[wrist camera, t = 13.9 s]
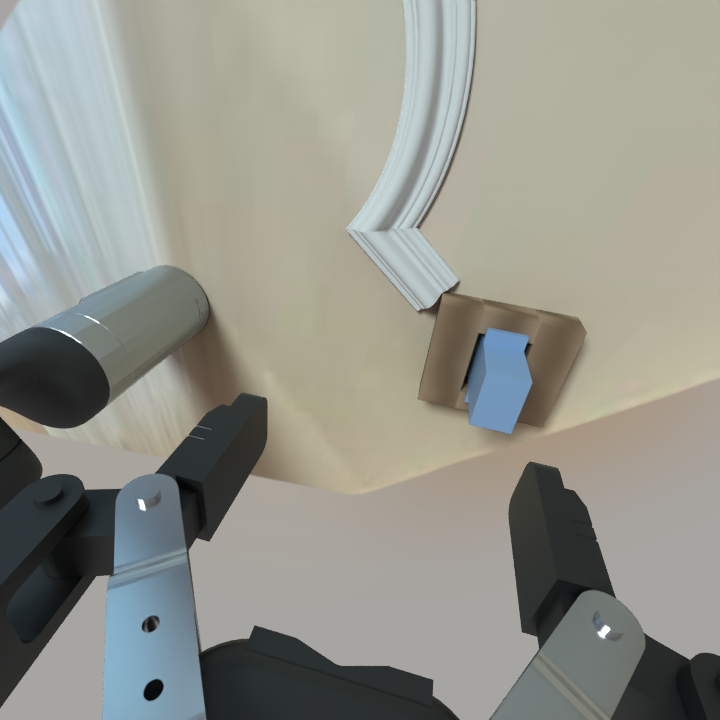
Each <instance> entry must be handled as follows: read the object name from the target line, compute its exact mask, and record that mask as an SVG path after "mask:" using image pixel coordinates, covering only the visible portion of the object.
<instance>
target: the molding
mask: <svg viewBox="0 0 720 720" xmlns="http://www.w3.org/2000/svg"><path fill="white" fill-rule="evenodd" d="M403 8H404V16H405V29H406V73H405V86H404V94H403V101H402V108H401V113H400V118H399V123H398V127H397V131H396V135H395V139H394V142H393V145H392V149H391V151H390V154H389V157H388V160H387V162H386V165H385V167H384V170H383V172H382V174H381V176H380V178H379V180H378V182H377V185H376V186H375V188H374V190H373V192H372V194H371V195H370V197H369V199H368V200H367V202H366V203H365V205H364V206H363V208H362V209H361V211H360V212H359V213H358V214H357V216H356V217H355V218H354V220H353V221H352V222H351V223H350V224H349V225H348V226H347V228H346V230H347V231H348V232H349V234H350V235H351V236H352V237H353V238H354V239H355V240H356V242H357V243H358V244H359V245H360V246H361V247H362V248H363V250H364V251H365V252H366V253H367V254H368V255H369V256H370V258H371V259H372V260H373V261H374V262H375V263H376V264H377V266H378V267H379V268H380V269H381V270H382V271H383V272H384V274H385V275H386V276H387V277H388V278H389V279H390V281H391V282H392V283H393V284H394V285H395V286H396V287H397V289H398V290H399V291H400V292H401V293H402V294H403V295H404V297H405V298H406V299H407V300H408V301H409V302H410V303H411V305H412V306H413V307H414V308H415V309H416V310H417V311H419V310H420V309H424V308H425V309H427V308H429V307H431V306H432V305H433V304H434V303H435V302H436V301H437V300H438V298H439V296H440V295H441V294H442V293H443V292H445V291H447V290H448V289H449V288H451V287H453V286H454V285H455V284H456V283H457V282H458V281H459V278H458V276H457V275H456V274H455V273H454V272H453V270H452V269H451V268H450V267H449V265H448V264H447V263H446V262H445V261H444V259H443V258H442V257H441V256H440V254H439V253H438V252H437V251H436V250H435V248H434V247H433V246H432V245H431V243H430V242H429V241H428V240H427V239H426V237H425V236H424V235H423V234H422V232H421V231H420V230H419V229H418V228H417V226H418V224H419V223H420V221H421V220H422V218H423V217H424V215H425V213H426V212H427V210H428V208H429V206H430V205H431V203H432V201H433V199H434V197H435V195H436V193H437V191H438V189H439V187H440V185H441V183H442V181H443V178H444V176H445V174H446V171H447V169H448V166H449V164H450V161H451V159H452V156H453V153H454V150H455V147H456V144H457V141H458V137H459V134H460V130H461V127H462V123H463V119H464V115H465V110H466V106H467V101H468V96H469V89H470V83H471V76H472V68H473V59H474V47H475V26H476V0H403Z"/></svg>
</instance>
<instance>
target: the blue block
mask: <svg viewBox="0 0 720 720" xmlns="http://www.w3.org/2000/svg"><path fill="white" fill-rule="evenodd" d="M528 340H529V336H528V335H524V334H519V333H514V332H509V331H504V330H499V329H494V328H489V327H487V330H486V333H485V334H482V333H479V336H478V339H477V342H476V346H475V349H474V352H473V355H472V359H471V362H470V365H469V368H468V390H467V393H466V396H465V402H467V403H468V405H469V425H473V426H478V427H482V428H487V429H491V430H495V431H500V432H504V433H508V434H511V433H512V431H513V428H514V426H515V424H516V421H517V419H518V416H519V414H520V412H521V409H522V407H523V404H524V402H525V400H526V397H527V395H528V392H529V390H530V388H531V385H532V379H531V375H530V372H529V368H528V364H527V360H526V357H525V353H524V350H525V347H526V345H527V342H528Z"/></svg>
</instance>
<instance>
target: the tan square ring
mask: <svg viewBox="0 0 720 720" xmlns="http://www.w3.org/2000/svg"><path fill="white" fill-rule="evenodd" d="M487 327H489V328H494V329H499V330H504V331H509V332H514V333H519V334H524V335H528V336H529V340H528V342H527V345H526V347H525V350H524V353H525V357H526V360H527V364H528V368H529V372H530V375H531V379H532V385H531V388H530V390H529V392H528V395H527V397H526V400H525V402H524V404H523V407H522V409H521V412H520V414H519V416H518V419H517V421H516V422H520V423H525V424H529V425H533V426H538V427H543V425H544V423H545V421H546V419H547V417H548V414H549V412H550V410H551V408H552V406H553V404H554V402H555V400H556V397H557V395H558V393H559V391H560V389H561V387H562V385H563V382H564V380H565V378H566V376H567V374H568V372H569V370H570V368H571V365H572V363H573V361H574V359H575V357H576V355H577V353H578V351H579V348H580V346H581V344H582V342H583V340H584V338H585V336H586V333H587V332H586V330H585V328H584V327H583V325H582V323H581V322H580V320H579V318H577V317H572V316H567V315H562V314H557V313H552V312H547V311H542V310H536V309H531V308H526V307H521V306H516V305H511V304H506V303H501V302H495V301H490V300H485V299H480V298H475V297H470V296H465V295H460V294H454V293H449V292H443V293H442V297H441V301H440V305H439V309H438V313H437V317H436V321H435V325H434V329H433V334H432V338H431V342H430V346H429V350H428V354H427V358H426V362H425V366H424V370H423V374H422V378H421V382H420V389H419V395H418V399H419V400H423V401H428V402H432V403H437V404H441V405H445V406H450V407H454V408H459V409H463V410H467V411H469V405H468V403H467V402H465V396H466V393H467V390H468V376H465V375H466V371H467V368H468V365H469V362H470V359H471V355H472V352H473V349H474V346H475V343H476V339H477V336H478V333H482V334H485V333H486V330H487Z"/></svg>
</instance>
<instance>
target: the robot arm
mask: <svg viewBox="0 0 720 720" xmlns="http://www.w3.org/2000/svg"><path fill="white" fill-rule="evenodd" d="M208 317H209V307H208V301H207V299H206V296H205V294H204V292H203V290H202V289H201V287H200V286H199V285H198V283H197V282H196V281H195V280H194V279H193V278H192V277H190V276H189V275H188V274H186V273H185V272H183V271H182V270H179V269H177V268H174V267H170V266H158V267H155V268H152V269H150V270H148V271H146V272H137V273H135V274H133V275H131V276H129V277H127V278H125V279H122V280H120V281H118V282H116V283H114V284H112V285H110V286H108V287H106V288H103V289H101V290H99V291H97V292H95V293H93V294H91V295H89V296H87V297H84V298H82V299H81V300H80V302H79V304H78V305H76V306H74V307H72V308H70V309H68V310H65V311H63V312H61V313H59V314H57V315H55V316H53V317H51V318H49V319H47V320H45V321H43V322H41V323H39V324H37V325H35V326H33V327H31V328H29V329H26V330H24V331H22V332H20V333H18V334H16V335H14V336H12V337H10V338H8V339H7V340H5V341H3V342H1V343H0V406H2V407H5V408H7V409H10V410H12V411H14V412H16V413H18V414H20V415H22V416H24V417H26V418H28V419H30V420H32V421H35V422H37V423H40V424H42V425H46V426H49V427H54V428H73V427H77V426H79V425H82V424H84V423H86V422H87V421H89V420H90V419H91V418H93V417H94V416H95V415H96V414H98V413H99V412H100V411H101V410H102V409H104V408H105V407H106V406H107V405H109V404H110V403H111V402H112V401H114V400H115V399H116V398H117V397H119V396H120V395H121V394H122V393H123V392H125V391H126V390H127V389H128V388H129V387H131V386H132V385H133V384H134V383H136V382H137V381H138V380H139V379H141V378H142V377H143V376H144V375H146V374H147V373H148V372H149V371H151V370H152V369H153V368H154V367H155V366H157V365H158V364H159V363H160V362H162V361H163V360H164V359H165V358H167V357H168V356H169V355H170V354H172V353H173V352H174V351H175V350H177V349H178V348H179V347H180V346H181V345H183V344H184V343H185V342H187V341H188V340H189V339H190V338H191V337H193V336H194V335H195V334H196V333H198V332H199V331H200V330H201V329H202V328H203V327H204V326H205V324H206V323H207V320H208ZM266 440H267V399H266V398H264V397H260V396H256V395H252V394H247V393H241V394H240V395H239V396H238V398H237V399H236V400H235V401H234V402H233V404H232V405H231V406H226V405H220V406H219V407H217V408H215V409H213V410H212V411H210V412H208V413H207V414H206V415H205V416H204V417H203V419H202V420H201V421H200V422H199V423H198V424H197V427H195V428H194V429H193V430H192V431H191V432H190V434H189V436H188V437H186V438H185V439H184V441H183V442H182V443H181V444H180V445H179V446H178V447H177V449H176V450H175V451H174V452H173V453H172V454H171V456H170V457H169V458H168V459H167V460H166V461H165V463H164V464H163V465H162V466H161V467H160V468H159V470H158V471H157V472H156V473H155V474H148V475H144V476H141V477H138V478H136V479H134V480H132V481H131V482H129V483H128V484H127V485H125V486H124V487H123V488H122V489H102V490H101V489H100V490H98V489H97V490H85V489H84V485H83V483H82V481H81V480H80V479H79V478H78V477H76V476H73V475H68V474H58V475H52V476H48V477H45V478H42V479H40V478H41V476H42V465H41V463H40V461H39V459H38V458H37V457H36V455H35V454H34V453H33V451H32V450H31V449H30V448H29V447H28V446H27V445H26V444H25V443H24V442H23V441H22V439H20V437H19V436H18V435H17V434H16V433H15V432H14V431H13V430H12V429H11V428H10V427H9V425H8V424H7V423H6V422H5V421H4V420H3V419H2V418H1V417H0V708H1V706H2V705H3V704H4V702H5V701H6V699H7V698H8V696H9V695H10V694H11V693H12V691H13V690H14V688H15V687H16V686H17V684H18V683H19V682H20V680H21V679H22V677H23V676H24V675H25V673H26V672H27V671H28V669H29V668H30V666H31V665H32V664H33V662H34V661H35V659H36V658H37V657H38V656H39V654H40V653H41V651H42V650H43V648H44V647H45V646H46V644H47V643H48V642H49V640H50V639H51V638H52V636H53V635H54V633H55V632H56V631H57V629H58V628H59V626H60V625H61V624H62V623H63V621H64V620H65V618H66V617H67V616H68V614H69V613H70V612H71V610H72V609H73V607H74V606H75V605H76V603H77V602H78V601H79V599H80V598H81V596H82V595H83V594H84V592H85V591H86V590H87V588H88V587H89V585H90V584H91V583H92V581H93V580H94V579H95V577H96V576H104V575H110V576H109V579H108V584H107V605H106V633H105V658H104V685H103V712H102V720H460V719H459V718H458V717H457V716H456V715H455V714H454V713H453V712H452V711H451V710H450V709H449V708H448V707H447V706H445V705H444V704H443V703H442V702H441V701H440V700H438V699H437V698H435V697H434V696H432V694H433V680H432V679H428V678H425V677H422V676H418V675H415V674H412V673H409V672H405V671H402V670H399V669H395V668H392V667H389V666H339V665H336V664H334V663H333V662H332V661H330V660H329V659H327V658H325V657H324V656H322V655H321V654H319V653H318V652H316V651H315V650H313V649H312V648H311V647H309V646H308V645H306V644H305V643H303V642H302V641H300V640H299V639H297V638H294V637H291V636H288V635H284V634H281V633H278V632H275V631H271V630H268V629H265V628H262V627H258V626H254V628H253V631H252V633H251V636H250V638H249V639H239V640H232V641H228V642H224V643H221V644H218V645H216V646H214V647H211V648H209V649H207V650H205V651H203V652H202V649H201V642H200V634H199V627H198V620H197V613H196V606H195V598H194V590H193V582H192V574H191V567H190V559H189V551H188V550H189V549H190V547H191V546H192V544H193V543H194V541H195V539H196V538H199V539H202V540H206V541H210V539H211V538H212V536H213V535H214V533H215V531H216V530H217V528H218V526H219V524H220V523H221V521H222V519H223V518H224V516H225V514H226V513H227V511H228V509H229V508H230V506H231V504H232V503H233V501H234V499H235V497H236V496H237V494H238V493H239V491H240V489H241V488H242V486H243V484H244V482H245V481H246V479H247V478H248V476H249V474H250V473H251V471H252V469H253V468H254V466H255V464H256V463H257V461H258V459H259V458H260V456H261V454H262V452H263V450H264V447H265V444H266ZM509 525H510V534H511V542H512V551H513V559H514V568H515V576H516V585H517V594H518V602H519V611H520V619H521V628H522V632H523V633H527V634H530V635H534V636H537V637H538V643H539V651H538V652H537V653H536V655H535V656H534V657H533V659H532V660H531V662H530V663H529V664H528V666H527V667H526V669H525V670H524V672H523V673H522V675H521V676H520V677H519V678H518V680H517V681H516V683H515V684H514V686H513V687H512V688H511V690H510V691H509V692H508V694H507V695H506V697H505V698H504V699H503V701H502V702H501V704H500V705H499V707H498V708H497V709H496V711H495V712H494V713H493V715H492V716H491V718H490V719H489V720H720V656H718V655H715V654H711V653H700V654H698V655H696V656H695V657H693V658H692V659H691V660H689V659H687V658H686V657H684V656H682V655H680V654H678V653H677V652H675V651H673V650H671V649H670V648H668V647H666V646H664V645H663V644H661V643H659V642H657V641H656V640H654V639H652V638H651V637H649V636H648V635H646V634H645V633H644V632H643V630H642V628H641V625H640V624H639V622H638V620H637V619H636V618H635V616H634V615H633V613H632V612H631V611H630V610H629V609H628V608H627V607H626V606H625V605H624V604H622V603H621V602H620V601H618V600H617V599H616V597H615V594H614V591H613V588H612V585H611V582H610V579H609V575H608V572H607V569H606V566H605V563H604V560H603V557H602V554H601V550H600V548H599V544H598V542H596V539H597V538H596V535H595V532H594V529H593V528H592V522H591V520H590V516H589V513H588V510H587V508H586V506H585V504H584V503H583V502H582V501H581V499H580V498H579V496H578V495H577V494H576V492H575V491H573V490H569V489H565V488H564V486H563V482H562V478H561V475H560V472H559V470H558V468H555V467H551V466H547V465H543V464H538V463H534V462H529V463H528V464H527V465H526V467H525V469H524V471H523V474H522V476H521V478H520V480H519V482H518V484H517V486H516V488H515V490H514V493H513V495H512V497H511V500H510V505H509Z"/></svg>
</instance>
